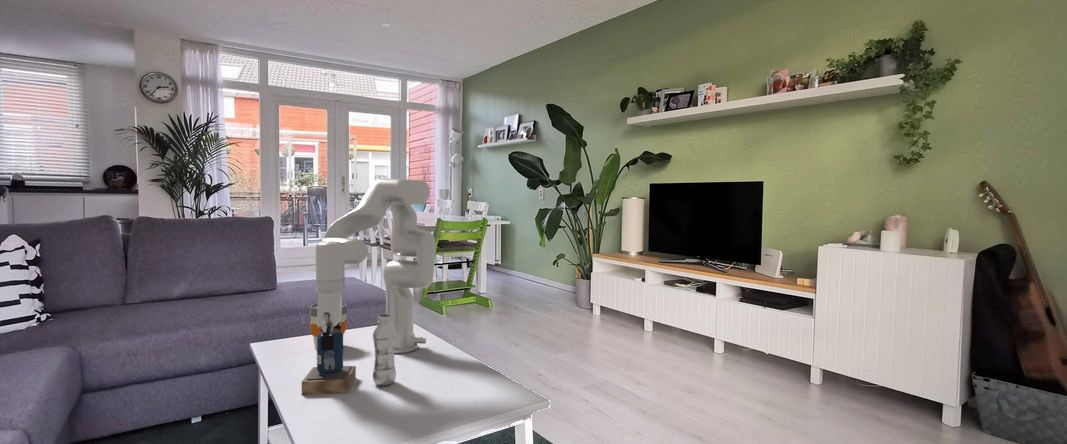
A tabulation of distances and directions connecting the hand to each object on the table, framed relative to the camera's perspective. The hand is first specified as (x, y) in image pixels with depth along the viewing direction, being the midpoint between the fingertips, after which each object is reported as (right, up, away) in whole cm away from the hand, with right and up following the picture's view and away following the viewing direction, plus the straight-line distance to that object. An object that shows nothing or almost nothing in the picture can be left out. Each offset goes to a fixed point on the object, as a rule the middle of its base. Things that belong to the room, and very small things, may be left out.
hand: (331, 344), depth 147 cm
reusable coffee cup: (-16, -10, +37) cm, 41 cm away
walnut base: (0, -12, 0) cm, 12 cm away
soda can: (0, -8, 0) cm, 8 cm away
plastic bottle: (+14, -12, +2) cm, 19 cm away
